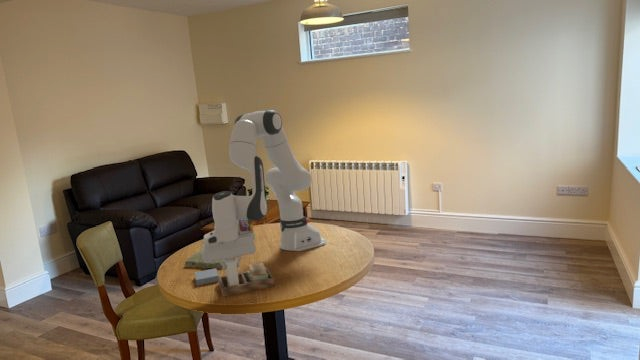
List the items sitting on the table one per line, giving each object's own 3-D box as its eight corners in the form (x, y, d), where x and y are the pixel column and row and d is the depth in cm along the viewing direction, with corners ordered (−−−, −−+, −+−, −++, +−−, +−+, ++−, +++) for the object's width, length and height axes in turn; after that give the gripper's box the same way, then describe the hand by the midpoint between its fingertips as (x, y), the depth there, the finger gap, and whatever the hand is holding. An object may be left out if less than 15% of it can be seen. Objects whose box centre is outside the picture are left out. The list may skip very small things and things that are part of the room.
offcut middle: (262, 273, 186) (261, 267, 186) (268, 279, 179) (267, 274, 179) (248, 276, 184) (247, 271, 183) (253, 283, 177) (253, 277, 176)
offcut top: (263, 268, 185) (262, 262, 185) (266, 274, 178) (265, 269, 178) (249, 270, 184) (249, 264, 184) (252, 277, 177) (251, 271, 176)
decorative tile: (201, 255, 222) (200, 248, 222) (239, 255, 218) (238, 247, 217) (182, 269, 204) (180, 262, 204) (223, 270, 200) (222, 262, 199)
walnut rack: (267, 274, 189) (266, 266, 189) (274, 285, 177) (273, 277, 177) (218, 284, 183) (217, 276, 183) (222, 296, 171) (221, 288, 171)
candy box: (249, 236, 245) (246, 208, 242) (254, 237, 242) (251, 209, 240) (236, 241, 239) (232, 212, 236) (241, 242, 236) (238, 213, 233)
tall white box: (236, 282, 184) (232, 254, 181) (239, 291, 175) (236, 261, 173) (227, 284, 182) (224, 256, 180) (230, 292, 174) (227, 263, 172)
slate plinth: (216, 273, 195) (216, 268, 194) (219, 281, 186) (218, 275, 186) (195, 277, 192) (194, 272, 192) (196, 285, 184) (195, 279, 183)
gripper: (252, 227, 181) (255, 260, 183) (199, 236, 175) (204, 270, 177) (255, 231, 175) (259, 265, 178) (200, 240, 169) (205, 275, 171)
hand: (231, 268), depth 177 cm, fingers closed on tall white box, 3 cm apart
